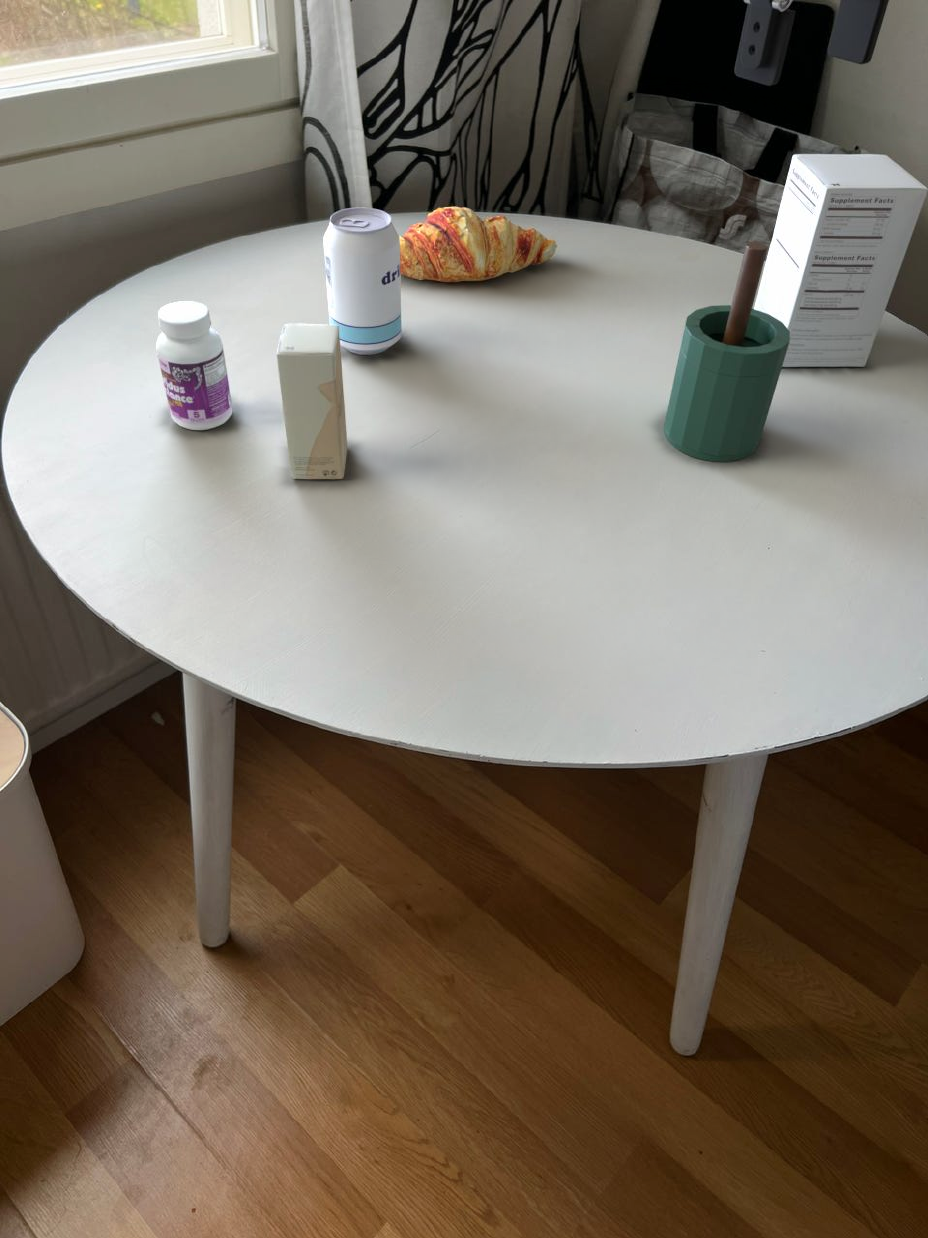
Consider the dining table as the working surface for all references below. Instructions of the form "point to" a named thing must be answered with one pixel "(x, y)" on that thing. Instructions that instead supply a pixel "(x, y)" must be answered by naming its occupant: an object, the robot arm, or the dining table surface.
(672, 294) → the dining table surface
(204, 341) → the pill bottle
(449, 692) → the dining table surface
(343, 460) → the box
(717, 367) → the jar
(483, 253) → the croissant
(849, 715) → the dining table surface
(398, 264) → the beverage can
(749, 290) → the dowel with disc base
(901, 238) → the supplement box
